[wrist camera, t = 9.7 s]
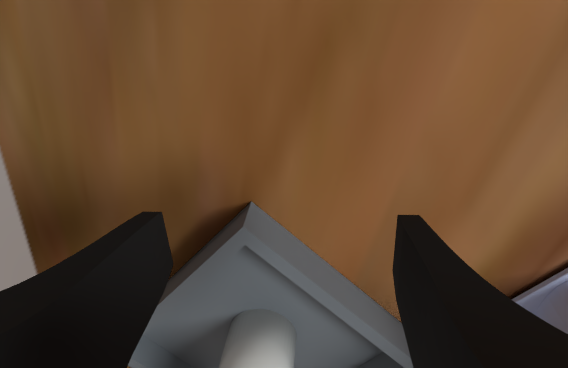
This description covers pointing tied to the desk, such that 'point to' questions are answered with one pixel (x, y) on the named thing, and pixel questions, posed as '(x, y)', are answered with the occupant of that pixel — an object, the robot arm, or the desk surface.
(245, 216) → the tray
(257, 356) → the shaker
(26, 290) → the robot arm
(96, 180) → the desk surface
